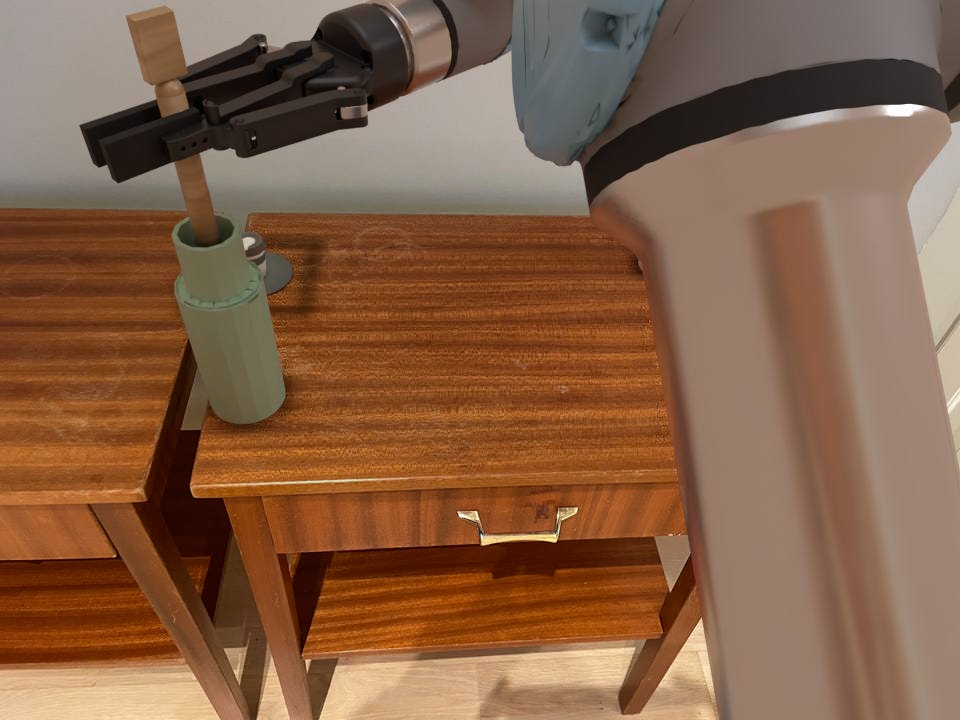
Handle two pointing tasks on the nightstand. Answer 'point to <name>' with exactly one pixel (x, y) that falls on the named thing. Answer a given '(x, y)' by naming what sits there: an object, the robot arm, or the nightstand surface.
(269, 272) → the coffee cup
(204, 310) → the bottle
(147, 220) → the nightstand surface
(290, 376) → the nightstand surface
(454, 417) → the nightstand surface
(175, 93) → the wooden stick
